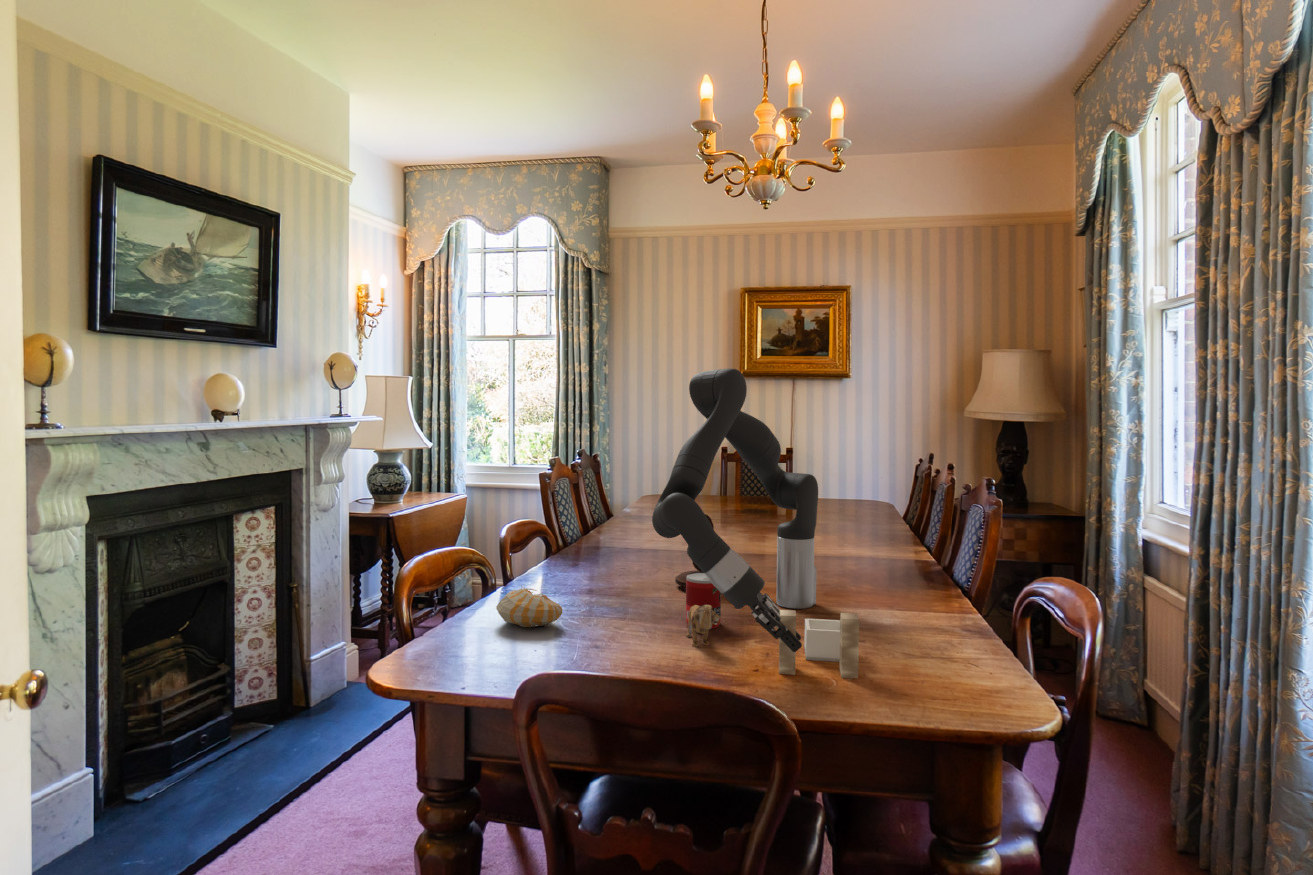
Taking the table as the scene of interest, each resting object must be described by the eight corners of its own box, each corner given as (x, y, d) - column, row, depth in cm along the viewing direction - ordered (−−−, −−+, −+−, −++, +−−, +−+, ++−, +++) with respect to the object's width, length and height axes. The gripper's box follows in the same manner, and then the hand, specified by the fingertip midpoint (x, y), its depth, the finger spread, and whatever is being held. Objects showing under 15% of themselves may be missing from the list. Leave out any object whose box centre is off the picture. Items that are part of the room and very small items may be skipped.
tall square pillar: (778, 673, 138) (779, 615, 138) (778, 666, 142) (779, 609, 142) (795, 674, 138) (796, 616, 137) (794, 667, 142) (795, 610, 141)
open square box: (806, 659, 146) (806, 629, 145) (804, 646, 154) (804, 618, 153) (847, 662, 145) (847, 631, 144) (843, 649, 152) (843, 620, 152)
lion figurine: (721, 650, 151) (722, 606, 151) (697, 652, 150) (697, 608, 149) (698, 629, 165) (699, 589, 165) (675, 631, 164) (676, 590, 164)
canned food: (718, 630, 165) (719, 581, 164) (683, 627, 166) (683, 579, 166) (722, 620, 172) (723, 573, 172) (688, 618, 174) (689, 572, 173)
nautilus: (503, 611, 180) (564, 614, 181) (489, 633, 159) (559, 635, 160) (505, 579, 180) (566, 581, 181) (491, 596, 159) (561, 599, 160)
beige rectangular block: (841, 677, 136) (842, 618, 136) (839, 670, 140) (840, 612, 140) (858, 678, 136) (859, 619, 135) (855, 671, 140) (856, 613, 139)
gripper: (747, 573, 133) (815, 643, 132) (749, 557, 147) (810, 620, 146) (717, 600, 134) (784, 671, 133) (722, 582, 148) (783, 645, 147)
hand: (797, 644), depth 139 cm, fingers closed on tall square pillar, 4 cm apart
